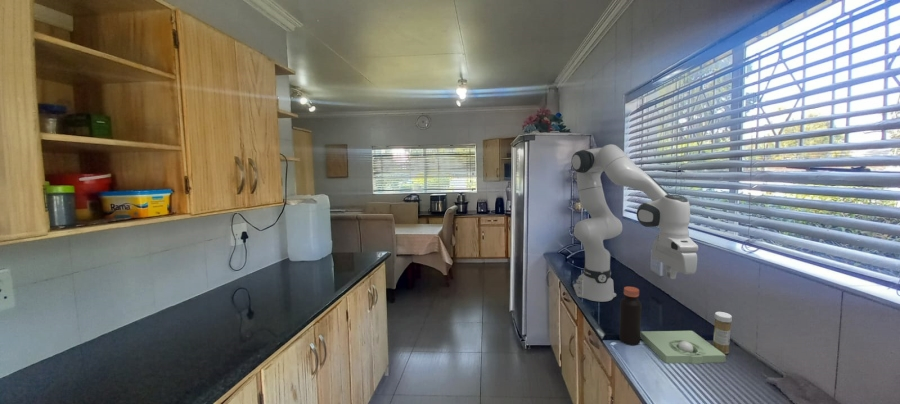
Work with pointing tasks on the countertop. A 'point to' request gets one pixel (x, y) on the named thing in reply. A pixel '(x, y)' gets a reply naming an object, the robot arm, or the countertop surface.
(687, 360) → the putting mat
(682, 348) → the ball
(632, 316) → the vinegar
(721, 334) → the sprinkles bottle
